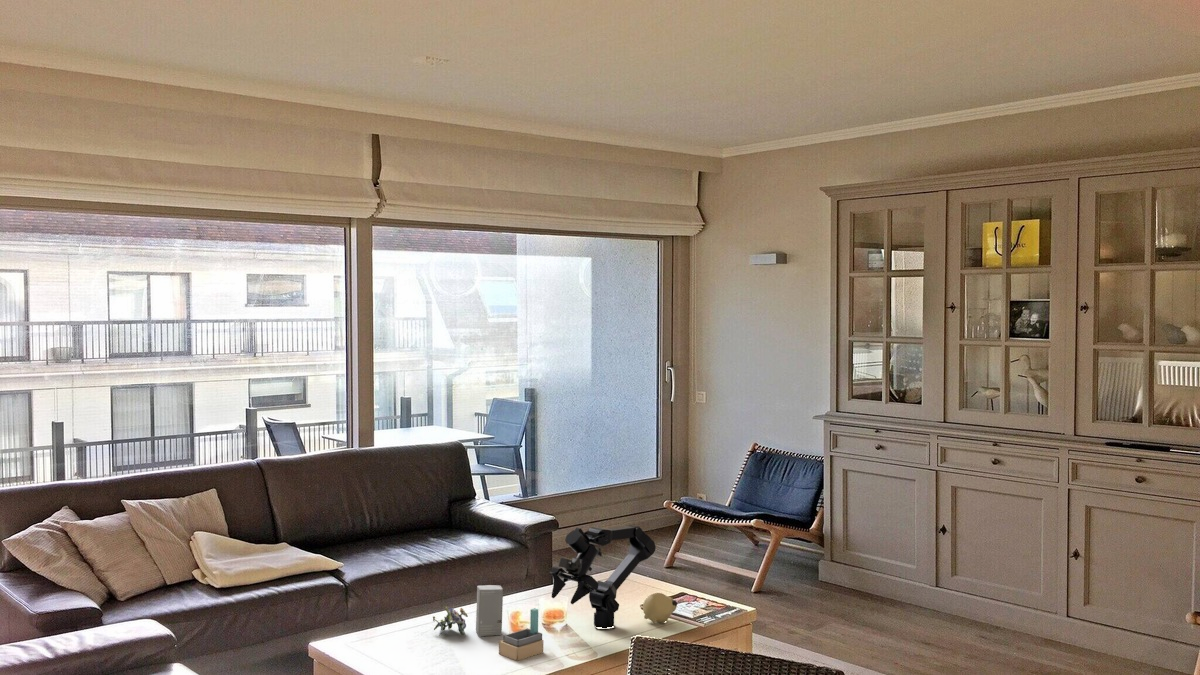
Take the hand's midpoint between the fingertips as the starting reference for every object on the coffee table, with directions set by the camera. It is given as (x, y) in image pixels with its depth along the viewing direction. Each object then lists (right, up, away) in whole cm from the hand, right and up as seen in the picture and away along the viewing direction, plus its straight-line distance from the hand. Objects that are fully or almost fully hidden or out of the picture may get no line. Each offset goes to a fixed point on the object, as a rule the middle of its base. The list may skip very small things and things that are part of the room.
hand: (561, 600), depth 324 cm
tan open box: (-13, -13, -12) cm, 22 cm away
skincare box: (-25, -13, +7) cm, 29 cm away
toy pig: (+34, -14, +21) cm, 42 cm away
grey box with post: (-13, -13, -12) cm, 22 cm away
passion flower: (-38, -13, +5) cm, 40 cm away
